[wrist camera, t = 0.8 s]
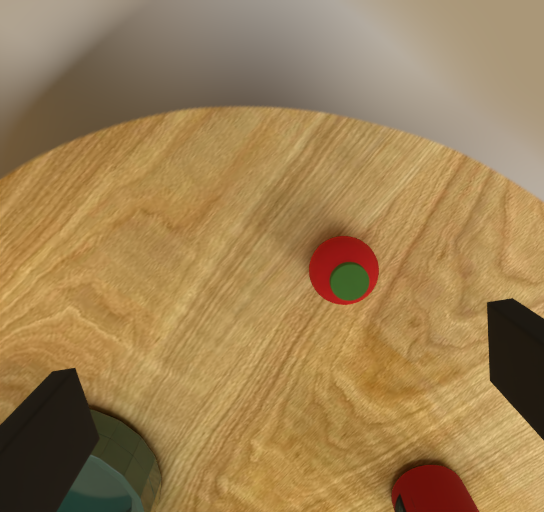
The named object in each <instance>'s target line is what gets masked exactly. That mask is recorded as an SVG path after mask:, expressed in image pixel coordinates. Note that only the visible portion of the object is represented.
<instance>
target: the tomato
mask: <svg viewBox="0 0 544 512" xmlns="http://www.w3.org/2000/svg"><path fill="white" fill-rule="evenodd" d="M309 275H310V280H311V282H312V285H313V287H314V288H315V290H316V291H317V292H318V294H319V295H321V296H322V297H323V298H324V299H326V300H328V301H330V302H332V303H335V304H341V305H348V304H353V303H356V302H359V301H361V300H363V299H364V298H365V297H367V296H368V295H369V294H370V293H371V292H372V290H373V289H374V287H375V285H376V283H377V280H378V275H379V266H378V261H377V258H376V256H375V254H374V252H373V251H372V250H371V248H370V247H369V246H368V245H367V244H365V243H364V242H363V241H361V240H359V239H357V238H354V237H349V236H338V237H334V238H331V239H328V240H327V241H325V242H323V243H322V244H321V245H320V246H319V247H318V248H317V249H316V250H315V252H314V254H313V256H312V258H311V261H310V265H309Z"/></svg>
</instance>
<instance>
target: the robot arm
mask: <svg viewBox="0 0 544 512" xmlns="http://www.w3.org/2000/svg"><path fill="white" fill-rule="evenodd" d="M487 314H488V341H489V368H490V381H491V382H492V383H493V385H494V386H495V387H496V388H497V389H498V390H499V391H500V392H501V393H502V394H503V396H504V397H505V398H506V399H507V400H508V401H509V402H510V403H511V404H512V406H513V407H514V408H515V409H516V410H517V411H518V412H519V413H520V414H521V416H522V417H523V418H524V419H525V420H526V421H527V422H528V423H529V424H530V426H531V427H532V428H533V429H534V430H535V431H536V432H537V433H538V434H539V436H540V437H541V438H542V439H543V440H544V319H543V318H542V317H540V316H539V315H537V314H536V313H534V312H533V311H531V310H530V309H528V308H527V307H525V306H524V305H522V304H521V303H519V302H517V301H516V300H514V299H513V298H511V299H505V300H499V301H493V302H487ZM99 439H100V437H99V435H98V432H97V429H96V426H95V423H94V420H93V418H92V415H91V412H90V409H89V406H88V403H87V400H86V398H85V395H84V392H83V389H82V386H81V383H80V381H79V378H78V375H77V372H76V369H75V368H71V369H65V370H59V371H53V372H51V374H50V375H49V376H48V377H47V378H46V379H45V380H44V381H43V382H42V383H41V384H40V385H39V386H38V387H37V388H36V389H35V390H34V391H33V392H32V393H31V394H30V395H29V396H28V397H27V398H26V399H25V400H24V401H23V402H22V403H21V404H20V405H19V406H18V408H17V409H16V410H15V411H14V412H13V413H12V414H11V415H10V416H9V417H8V418H7V419H6V420H5V421H4V422H3V423H2V424H1V425H0V512H57V510H58V508H59V507H60V505H61V503H62V502H63V500H64V498H65V497H66V495H67V493H68V491H69V490H70V488H71V486H72V485H73V483H74V481H75V480H76V478H77V476H78V475H79V473H80V471H81V470H82V468H83V466H84V464H85V463H86V461H87V459H88V458H89V456H90V454H91V453H92V451H93V449H94V448H95V446H96V444H97V442H98V441H99Z"/></svg>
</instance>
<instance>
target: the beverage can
mask: <svg viewBox="0 0 544 512" xmlns="http://www.w3.org/2000/svg"><path fill="white" fill-rule="evenodd" d="M391 497H392V504H393V507H394V510H395V512H479V510H478V509H477V507H476V505H475V503H474V501H473V500H472V498H471V496H470V494H469V492H468V491H467V489H466V487H465V485H464V484H463V482H462V480H461V479H460V477H459V476H458V475H457V474H456V473H455V472H454V471H452V470H450V469H448V468H446V467H443V466H439V465H423V466H418V467H415V468H413V469H411V470H409V471H407V472H406V473H404V474H403V475H402V476H401V477H400V478H399V479H398V480H397V481H396V483H395V485H394V487H393V490H392V495H391Z"/></svg>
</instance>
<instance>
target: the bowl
mask: <svg viewBox="0 0 544 512" xmlns="http://www.w3.org/2000/svg"><path fill="white" fill-rule="evenodd" d="M90 412H91V415H92V418H93V420H94V423H95V426H96V429H97V432H98V435H99V437H100V439H99V441H98V442H97V444H96V446H95V448H94V449H93V451H92V453H91V454H90V456H89V458H88V459H87V461H86V463H85V464H84V466H83V468H82V470H81V471H80V473H79V475H78V476H77V478H76V480H75V481H74V483H73V485H72V486H71V488H70V490H69V491H68V493H67V495H66V497H65V498H64V500H63V502H62V503H61V505H60V507H59V508H58V510H57V512H155V511H156V508H157V505H158V502H159V499H160V489H161V475H160V471H159V468H158V464H157V461H156V457H155V455H154V454H153V453H152V451H151V450H150V448H149V447H148V446H147V444H146V443H145V441H144V440H143V439H142V437H141V436H140V435H138V434H137V433H136V432H134V431H133V430H132V429H130V428H129V427H128V426H127V425H125V424H124V423H123V422H121V421H120V420H117V419H115V418H112V417H110V416H108V415H105V414H103V413H100V412H98V411H96V410H91V409H90Z"/></svg>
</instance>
